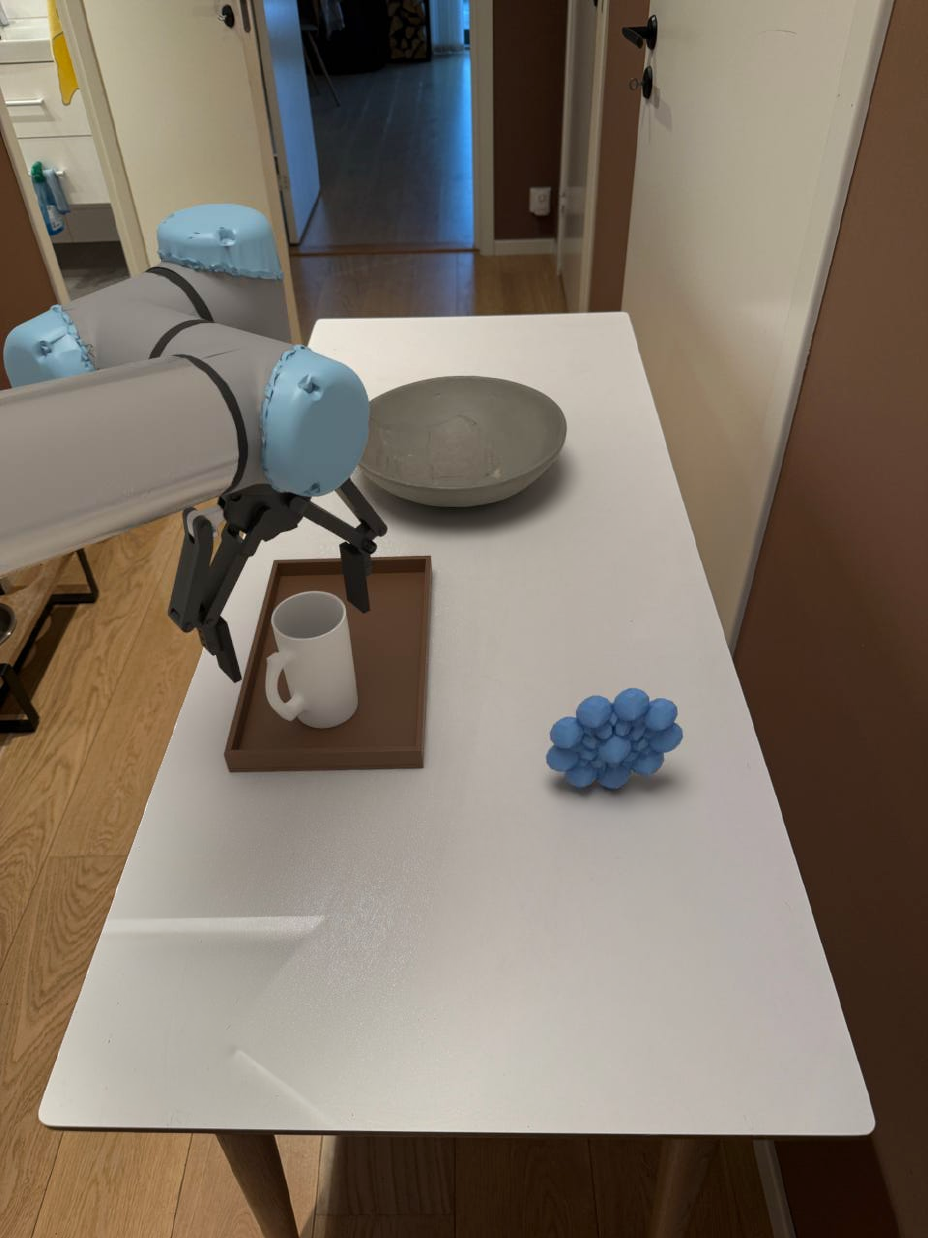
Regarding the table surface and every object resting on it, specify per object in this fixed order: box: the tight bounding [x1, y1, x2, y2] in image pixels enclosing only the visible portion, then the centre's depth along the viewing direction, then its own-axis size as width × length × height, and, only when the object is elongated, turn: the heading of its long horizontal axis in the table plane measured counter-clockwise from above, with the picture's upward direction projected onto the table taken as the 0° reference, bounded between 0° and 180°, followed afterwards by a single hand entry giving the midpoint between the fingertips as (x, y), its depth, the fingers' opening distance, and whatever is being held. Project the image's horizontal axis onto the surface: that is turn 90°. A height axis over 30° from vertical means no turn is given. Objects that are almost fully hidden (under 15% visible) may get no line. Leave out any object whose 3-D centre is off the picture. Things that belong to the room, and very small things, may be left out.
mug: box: [265, 591, 358, 728], centre depth 86 cm, size 10×7×12 cm, turn 146°
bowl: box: [357, 375, 568, 508], centre depth 119 cm, size 27×28×8 cm
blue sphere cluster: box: [545, 687, 684, 790], centre depth 80 cm, size 12×7×12 cm, turn 90°
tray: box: [223, 554, 433, 773], centre depth 96 cm, size 29×18×2 cm, turn 0°
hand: (297, 638), depth 83 cm, fingers open, 13 cm apart
